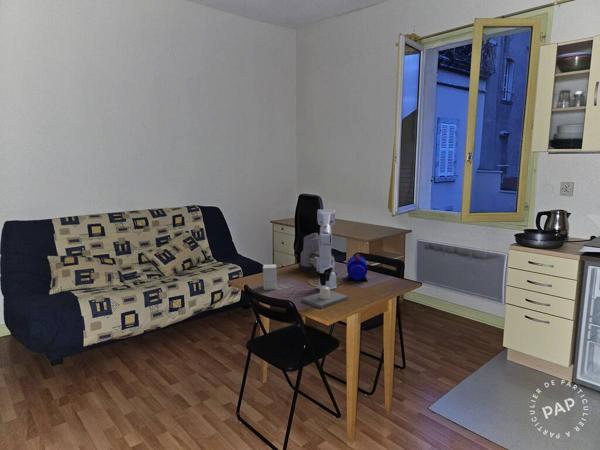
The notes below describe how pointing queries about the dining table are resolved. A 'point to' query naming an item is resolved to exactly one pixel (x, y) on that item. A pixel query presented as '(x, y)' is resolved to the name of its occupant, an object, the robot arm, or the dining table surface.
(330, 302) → the post board
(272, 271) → the supplement box
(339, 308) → the dining table surface
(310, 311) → the dining table surface
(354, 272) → the alarm clock
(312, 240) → the juicer
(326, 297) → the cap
